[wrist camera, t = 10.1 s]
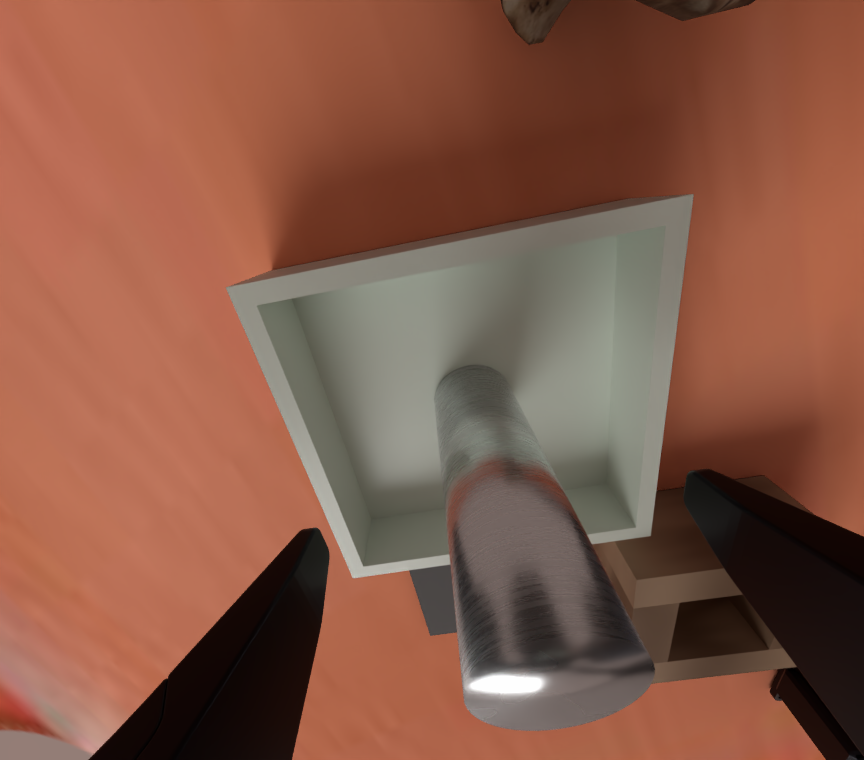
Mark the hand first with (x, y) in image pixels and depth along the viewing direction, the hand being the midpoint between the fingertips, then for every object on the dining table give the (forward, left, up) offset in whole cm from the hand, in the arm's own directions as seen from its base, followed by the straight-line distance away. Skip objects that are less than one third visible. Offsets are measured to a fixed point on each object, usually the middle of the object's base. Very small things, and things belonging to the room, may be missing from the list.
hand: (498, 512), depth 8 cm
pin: (0, 0, -6) cm, 6 cm away
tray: (0, 0, -6) cm, 6 cm away
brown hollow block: (-9, +11, -6) cm, 16 cm away
